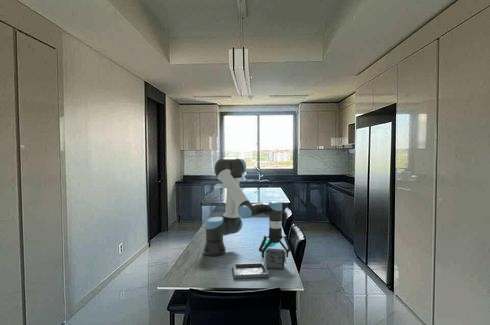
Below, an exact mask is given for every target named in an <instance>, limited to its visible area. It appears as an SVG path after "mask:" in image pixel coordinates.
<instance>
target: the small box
mask: <svg viewBox="0 0 490 325" xmlns="http://www.w3.org/2000/svg"><path fill="white" fill-rule="evenodd" d="M284 251H285V249H284V248H283V249H281V248H272V247H268V248H267V250H266V257H265V266H266V268H267V269H273V270H281V271H283V270H284V268H285V262H284Z"/></svg>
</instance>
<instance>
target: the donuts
mask: <svg viewBox="0 0 490 325" xmlns="http://www.w3.org/2000/svg"><path fill="white" fill-rule="evenodd" d="M269 240H270V239H269V238H267V240H266V242H265V244H264V246H263V247H265V245H266V244H267V243H268V241H269ZM262 241H263V239H262V240H261V242H262ZM277 244H278V243H271V244H270V245H269V247H268V248H272V247H275V246H277ZM268 248H267V249H268ZM267 249H266V250H267ZM260 253H261V255H262V252H260ZM265 258H266V251H265Z"/></svg>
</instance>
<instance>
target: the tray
mask: <svg viewBox="0 0 490 325" xmlns="http://www.w3.org/2000/svg"><path fill="white" fill-rule="evenodd" d="M232 272H233V278H234V280H251V279H252V280H253V279H269V278H270V273H269V271H268V268H266V263H265V264H264V263H263V261H261V262H240V263H239V262H238V263H237V262H234V263H232Z"/></svg>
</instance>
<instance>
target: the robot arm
mask: <svg viewBox="0 0 490 325" xmlns="http://www.w3.org/2000/svg"><path fill="white" fill-rule="evenodd" d="M213 168H214V174H215V176H216V178H217V179H218V180H219V181H221V183H222V184H223V186H224V187H225V190H226V195H225V196H226V197H225V212H224V213H223V214H222V217H221V216H213V217H209V218H208V219H206V222H205V242H204V246H203V250H202V251H203V252H202V253H203V254H204V255H205V256H208V257H219V256H223V255H225V254H226V253H227V251H226V246H225V242H224V236H228V235H234V234H236V233H239V232H240V231H241V230H242V228H243V221H242V219H249V218H253V217H254V218H255V217H260V216H268V220H269V221H268V223H269V224H268V226H269V228H268V235H265V234H264V235H263V239H262V240H263V241H262V240H261V243H260V246H259V248H258V252H259V253H261V252H262V254H261V259H262V262H263V263H264V264H265V265H266V257H265V251H266V249H268V248H270V247H269V245H270V244H271V243H277V244H280V245H281V247H282V248H283V250H284V264H287V258H289V253H290V252H292V248H291V245H290V243H289V241H288V236H287V234H284V235H282V233H283V231H282V230H283V228H282V226H283V225H282V224H283V202H282V201H281V200H272V201H271V200H270V202H269V203H268V202H265V201H257V202H256V203H252V202H251V201H250V200H249V199H248V197H247V196H246V194H245V193H244V191H243V189H242V188H241V186H240V181H241V179H242V178H243V174H245V173H246V171H247V163H246V161H245V160H244V158H242V157H238V156H237V157H236V156H235V157H234V156H233V157H232V156H231V157H230V156H229V157H221V158H219V159H218V160H217V161H216V162H215V164H214V166H213ZM267 239H270V240H269V241H268V243H267V244H266V245H265V246H264V244H265V242H266V240H267ZM282 239H283V240H284V242H285V244H286V246H285V244H284V243H283V241H282Z"/></svg>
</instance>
